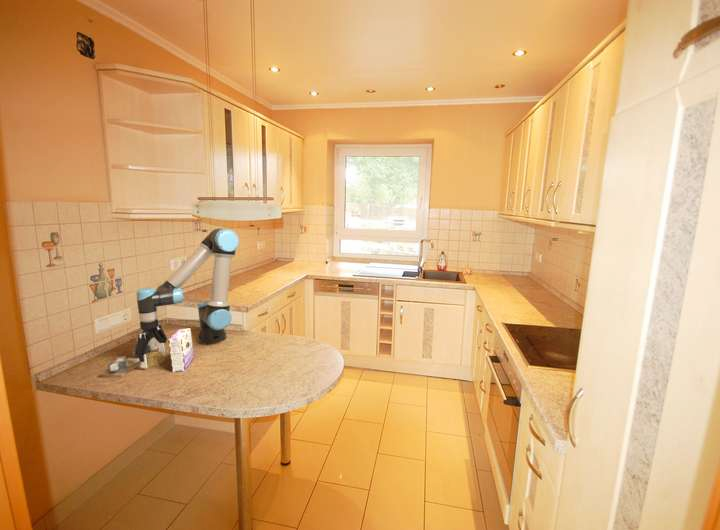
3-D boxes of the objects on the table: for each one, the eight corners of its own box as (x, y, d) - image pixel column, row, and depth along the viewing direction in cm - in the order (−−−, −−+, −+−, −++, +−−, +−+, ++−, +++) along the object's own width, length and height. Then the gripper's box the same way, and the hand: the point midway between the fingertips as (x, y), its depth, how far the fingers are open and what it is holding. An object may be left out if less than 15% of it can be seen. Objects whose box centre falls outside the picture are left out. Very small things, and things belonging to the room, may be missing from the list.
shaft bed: (138, 353, 180) (136, 342, 179) (158, 353, 180) (156, 342, 179) (98, 377, 155) (96, 364, 154) (121, 377, 154) (119, 364, 153)
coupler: (164, 361, 170) (162, 351, 169) (157, 365, 165) (156, 356, 164) (152, 361, 170) (151, 351, 169) (145, 365, 165) (144, 356, 164)
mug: (155, 351, 182) (152, 333, 180) (132, 351, 182) (129, 334, 180) (164, 345, 190) (161, 328, 188) (142, 345, 190) (139, 328, 189)
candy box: (182, 359, 171) (178, 328, 168) (194, 358, 172) (191, 327, 169) (171, 372, 157) (167, 339, 154) (185, 371, 158) (181, 337, 155)
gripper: (158, 312, 176) (162, 350, 179) (122, 328, 152) (127, 373, 155) (171, 312, 176) (176, 351, 179) (138, 328, 151) (143, 373, 154)
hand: (153, 361), depth 167 cm, fingers open, 13 cm apart
